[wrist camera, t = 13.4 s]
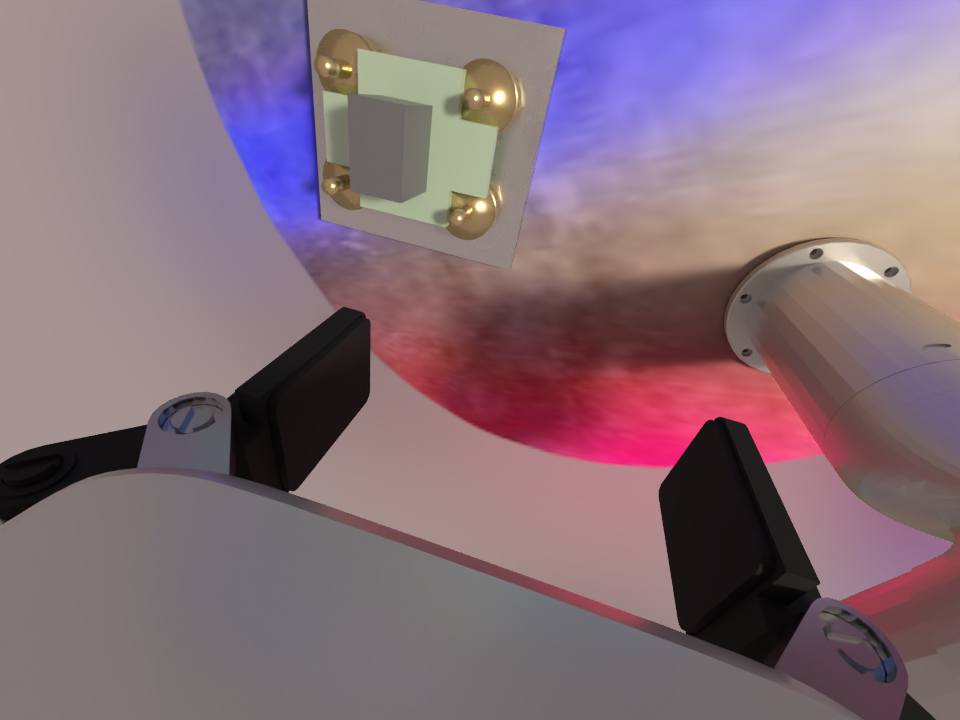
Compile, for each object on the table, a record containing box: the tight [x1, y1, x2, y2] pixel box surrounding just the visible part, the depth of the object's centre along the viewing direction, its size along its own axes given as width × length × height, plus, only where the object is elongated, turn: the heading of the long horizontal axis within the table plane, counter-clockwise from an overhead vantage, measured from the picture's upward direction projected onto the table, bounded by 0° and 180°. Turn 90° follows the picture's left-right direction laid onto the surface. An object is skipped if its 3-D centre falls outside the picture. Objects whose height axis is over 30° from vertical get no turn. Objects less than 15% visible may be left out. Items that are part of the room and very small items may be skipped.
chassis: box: [307, 0, 566, 270], centre depth 31 cm, size 20×18×7 cm
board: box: [323, 48, 499, 227], centre depth 29 cm, size 14×11×6 cm
